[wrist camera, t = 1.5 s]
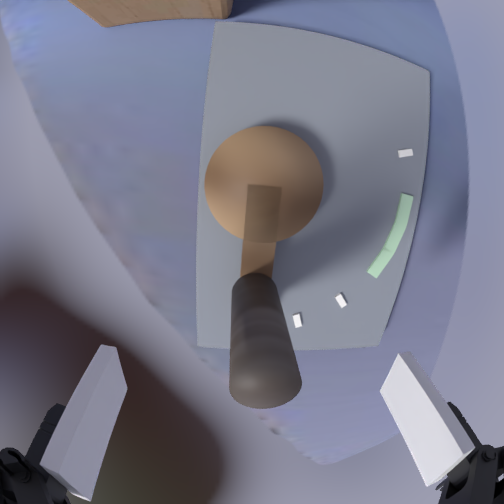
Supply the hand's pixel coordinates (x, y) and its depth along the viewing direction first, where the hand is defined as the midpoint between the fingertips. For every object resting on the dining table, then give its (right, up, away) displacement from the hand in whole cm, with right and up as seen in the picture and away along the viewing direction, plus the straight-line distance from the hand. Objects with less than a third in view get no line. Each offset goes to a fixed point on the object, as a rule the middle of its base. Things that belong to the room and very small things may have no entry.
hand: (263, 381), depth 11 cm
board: (+4, +9, +8) cm, 13 cm away
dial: (0, +6, +7) cm, 9 cm away
